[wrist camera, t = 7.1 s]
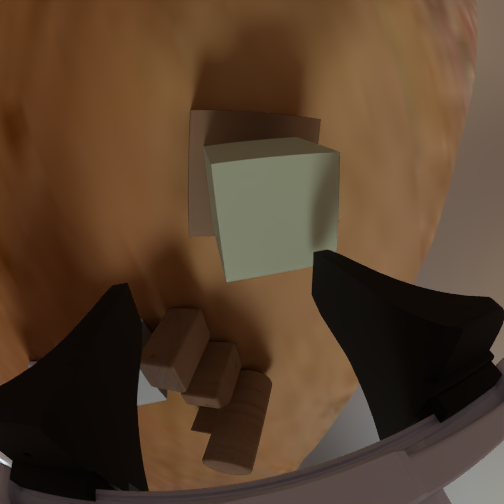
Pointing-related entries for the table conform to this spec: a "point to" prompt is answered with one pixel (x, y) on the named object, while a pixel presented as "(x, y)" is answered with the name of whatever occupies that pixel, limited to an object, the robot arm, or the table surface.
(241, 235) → the sage cube
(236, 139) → the walnut base
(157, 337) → the wooden block set
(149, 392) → the slate cube
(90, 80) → the table surface
